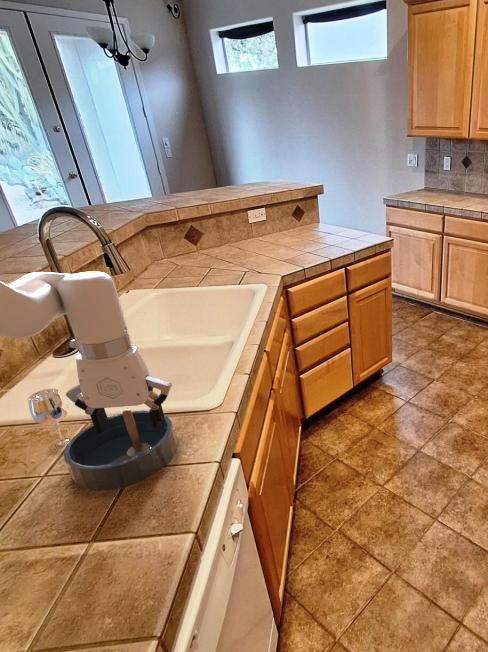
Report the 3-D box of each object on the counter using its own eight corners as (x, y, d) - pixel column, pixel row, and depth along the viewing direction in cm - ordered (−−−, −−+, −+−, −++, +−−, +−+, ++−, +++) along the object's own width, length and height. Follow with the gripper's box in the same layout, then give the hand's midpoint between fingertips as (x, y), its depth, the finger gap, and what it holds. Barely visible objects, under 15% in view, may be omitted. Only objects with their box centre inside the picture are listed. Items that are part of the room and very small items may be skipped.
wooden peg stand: (125, 463, 82) (109, 417, 77) (133, 450, 86) (118, 404, 81) (147, 461, 83) (133, 415, 78) (155, 448, 86) (141, 403, 82)
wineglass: (39, 450, 86) (17, 400, 81) (67, 433, 91) (48, 384, 86) (60, 456, 85) (38, 405, 79) (87, 438, 90) (69, 390, 84)
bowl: (53, 498, 75) (42, 474, 73) (100, 435, 91) (92, 414, 88) (160, 487, 78) (153, 464, 75) (188, 428, 93) (182, 407, 91)
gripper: (36, 357, 69) (70, 442, 76) (151, 351, 72) (173, 434, 79) (62, 338, 76) (91, 417, 83) (166, 333, 78) (185, 410, 86)
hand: (131, 425), depth 81 cm, fingers open, 9 cm apart
